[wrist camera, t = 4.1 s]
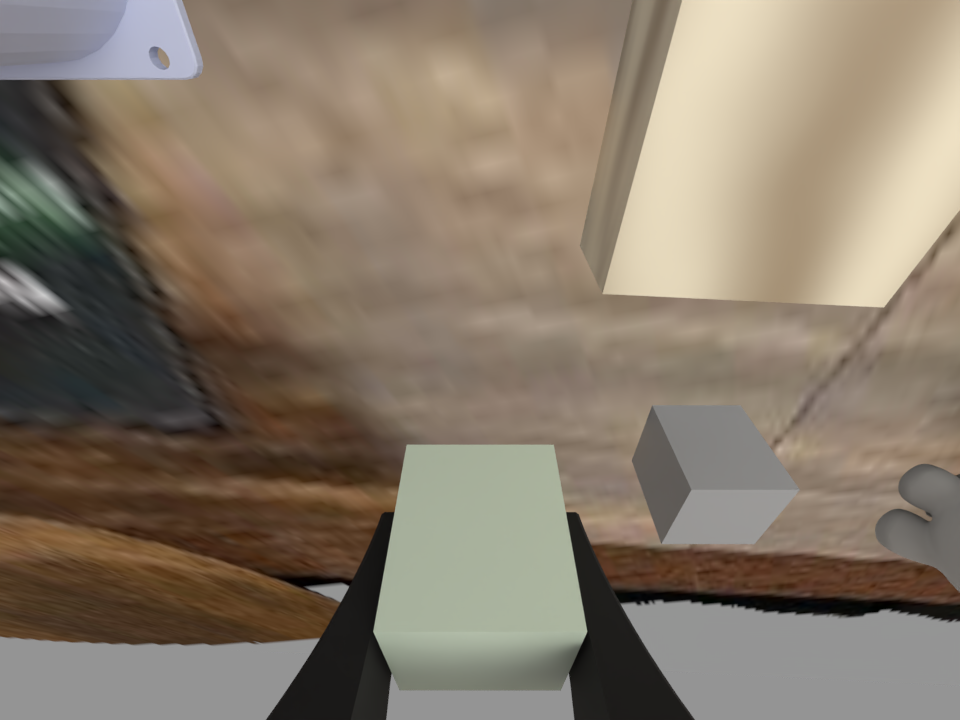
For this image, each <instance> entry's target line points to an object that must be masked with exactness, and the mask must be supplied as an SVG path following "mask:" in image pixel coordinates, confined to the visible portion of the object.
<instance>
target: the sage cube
mask: <svg viewBox="0 0 960 720" xmlns="http://www.w3.org/2000/svg"><path fill="white" fill-rule="evenodd" d="M373 632H374V635H375V637H376V639H377V641H378V643H379V646H380V648H381V650H382V652H383V655H384V657H385V659H386V661H387V663H388V666H389V668H390V670H391V672H392V675H393V677H394V679H395V681H396V684H397V686H398V688H399V690H469V691H472V690H473V691H475V690H476V691H477V690H478V691H481V690H484V691H485V690H487V691H489V690H490V691H492V690H494V691H495V690H496V691H501V690H504V691H506V690H508V691H510V690H512V691H513V690H514V691H520V690H521V691H523V690H525V691H530V690H531V691H551V690H552V691H553V690H554V691H561V689H562V687H563V684H564V682H565V680H566V678H567V676H568V673H569V671H570V669H571V667H572V665H573V662H574V660H575V658H576V656H577V654H578V651H579V649H580V647H581V645H582V643H583V640H584V638H585V636H586V634H587V627H586V622H585V616H584V611H583V605H582V599H581V594H580V588H579V583H578V577H577V571H576V566H575V560H574V555H573V549H572V544H571V538H570V532H569V527H568V521H567V516H566V510H565V505H564V499H563V493H562V488H561V482H560V477H559V471H558V466H557V460H556V454H555V449H554V445H407V446H406V451H405V457H404V463H403V468H402V474H401V479H400V485H399V491H398V496H397V502H396V507H395V513H394V519H393V524H392V530H391V535H390V541H389V547H388V552H387V558H386V563H385V569H384V575H383V580H382V586H381V591H380V597H379V603H378V608H377V614H376V619H375V625H374V631H373Z"/></svg>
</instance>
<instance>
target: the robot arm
mask: <svg viewBox="0 0 960 720" xmlns="http://www.w3.org/2000/svg"><path fill="white" fill-rule="evenodd" d="M159 48H161V49H162V50H163V51H164V52H165V53H166V54H167V56H168V58H169V62H170V65H169V68H167V67H166V66H164V65H163V64H162V63H161V61H160V59H159V58H158V49H159ZM202 70H203V62H202V57H201V54H200V51H199V48H198V45H197V43H196V40H195V37H194V34H193V31H192V28H191V25H190V22H189V19H188V16H187V13H186V10H185V7H184V5H183V2H182V0H0V80H188V79H193V78H197V77H199V75H200V74H201V73H202ZM394 513H395V512H384V513H383V514H381V517H380V520H379V523H378V525H377V528H376V530H375V533H374V535H373V538H372V540H371V542H370V544H369V547H368V549H367V551H366V553H365V555H364V558H363V560H362V562H361V564H360V566H359V568H358V570H357V572H356V574H355V576H354V578H353V580H352V582H351V584H350V586H349V588H348V590H347V592H346V594H345V595H344V597H343V599H342V601H341V603H340V604H339V606H338V608H337V610H336V612H335V613H334V615H333V617H332V619H331V620H330V622H329V624H328V626H327V628H326V629H325V631H324V633H323V634H322V636H321V638H320V639H319V641H318V643H317V644H316V646H315V647H314V649H313V651H312V652H311V654H310V655H309V657H308V659H307V660H306V662H305V663H304V665H303V666H302V668H301V669H300V671H299V673H298V674H297V675H296V677H295V678H294V680H293V681H292V683H291V684H290V686H289V687H288V689H287V690H286V692H285V693H284V695H283V696H282V698H281V699H280V700H279V702H278V703H277V705H276V706H275V708H274V709H273V710H272V712H271V713H270V715H269V716H268V717H267V719H266V720H386V718H387V709H388V699H389V690H390V681H391V675H392V672H391V670H390V668H389V666H388V663H387V661H386V659H385V657H384V655H383V652H382V650H381V648H380V646H379V643H378V641H377V639H376V637H375V635H374V632H373V631H374V625H375V619H376V614H377V608H378V603H379V597H380V591H381V586H382V580H383V575H384V569H385V563H386V558H387V552H388V547H389V541H390V535H391V530H392V524H393V519H394ZM566 516H567V521H568V527H569V532H570V538H571V544H572V549H573V555H574V560H575V566H576V571H577V577H578V583H579V588H580V594H581V599H582V605H583V611H584V616H585V622H586V627H587V634H586V636H585V638H584V640H583V643H582V645H581V647H580V649H579V651H578V654H577V656H576V658H575V660H574V662H573V665H572V667H571V669H570V671H569V678H570V686H571V695H572V704H573V713H574V720H695V719H694V718H693V716H692V715H691V714H690V712H689V711H688V709H687V708H686V707H685V705H684V704H683V702H682V701H681V700H680V698H679V697H678V695H677V694H676V692H675V691H674V689H673V688H672V687H671V685H670V684H669V682H668V681H667V679H666V678H665V676H664V675H663V673H662V672H661V670H660V669H659V667H658V665H657V664H656V662H655V661H654V659H653V658H652V656H651V655H650V653H649V651H648V650H647V648H646V647H645V645H644V643H643V642H642V640H641V638H640V637H639V635H638V633H637V632H636V630H635V628H634V627H633V625H632V623H631V621H630V620H629V618H628V616H627V615H626V613H625V611H624V609H623V607H622V606H621V604H620V602H619V600H618V598H617V596H616V595H615V593H614V591H613V589H612V587H611V585H610V583H609V581H608V579H607V577H606V575H605V573H604V571H603V569H602V567H601V565H600V563H599V561H598V559H597V557H596V555H595V552H594V550H593V548H592V546H591V543H590V541H589V539H588V537H587V534H586V532H585V529H584V527H583V524H582V522H581V519H580V516H579V514H578V513H576V512H566Z"/></svg>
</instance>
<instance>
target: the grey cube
mask: <svg viewBox="0 0 960 720" xmlns="http://www.w3.org/2000/svg"><path fill="white" fill-rule="evenodd" d="M632 463H633V466H634V469H635V471H636V474H637V477H638V480H639V483H640V485H641V488H642V491H643V494H644V497H645V500H646V502H647V505H648V508H649V511H650V514H651V516H652V519H653V522H654V525H655V528H656V530H657V533H658V536H659V539H660V542H661V544H755V543H756V542H757V540H758V539H759V538H760V537H761V536H762V534H763V533H764V532H765V531H766V530H767V529H768V527H769V526H770V525H771V524H772V523H773V521H774V520H775V519H776V518H777V517H778V515H779V514H780V513H781V512H782V511H783V509H784V508H785V507H786V506H787V505H788V503H789V502H790V501H791V500H792V499H793V498H794V496H795V495H796V494H797V493H798V492H799V490H800V489H799V488H798V486H797V485H796V484H795V482H794V481H793V479H792V478H791V476H790V475H789V474H788V472H787V471H786V469H785V468H784V466H783V465H782V464H781V462H780V461H779V459H778V458H777V457H776V455H775V454H774V452H773V451H772V449H771V448H770V447H769V445H768V444H767V442H766V441H765V439H764V438H763V437H762V435H761V434H760V432H759V431H758V429H757V428H756V427H755V425H754V424H753V422H752V421H751V420H750V418H749V417H748V415H747V414H746V412H745V411H744V410H743V408H742V407H741V405H652V407H651V410H650V413H649V415H648V418H647V421H646V423H645V426H644V429H643V431H642V434H641V437H640V440H639V442H638V445H637V448H636V450H635V453H634V456H633V458H632Z"/></svg>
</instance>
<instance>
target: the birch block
mask: <svg viewBox="0 0 960 720" xmlns="http://www.w3.org/2000/svg"><path fill="white" fill-rule="evenodd" d="M959 210H960V0H633V1H632V6H631V10H630V15H629V20H628V24H627V29H626V34H625V38H624V43H623V47H622V52H621V57H620V61H619V66H618V71H617V75H616V80H615V85H614V89H613V94H612V99H611V103H610V108H609V113H608V117H607V122H606V127H605V131H604V136H603V140H602V145H601V150H600V154H599V159H598V164H597V168H596V173H595V178H594V182H593V187H592V192H591V196H590V201H589V206H588V210H587V215H586V220H585V224H584V229H583V233H582V238H581V243H580V247H581V249H582V252H583V254H584V256H585V258H586V260H587V262H588V264H589V266H590V269H591V271H592V273H593V275H594V277H595V279H596V281H597V283H598V286H599V288H600V290H601V292H602V294H614V295H635V296H655V297H676V298H697V299H717V300H738V301H759V302H780V303H800V304H821V305H842V306H862V307H883V308H884V307H885V306H886V304H887V303H888V302H889V300H890V299H891V298H892V297H893V295H894V294H895V293H896V291H897V290H898V289H899V288H900V286H901V285H902V284H903V282H904V281H905V280H906V278H907V277H908V276H909V275H910V273H911V272H912V271H913V269H914V268H915V267H916V266H917V264H918V263H919V262H920V260H921V259H922V258H923V257H924V255H925V254H926V253H927V251H928V250H929V249H930V248H931V246H932V245H933V244H934V242H935V241H936V240H937V239H938V237H939V236H940V235H941V233H942V232H943V231H944V230H945V228H946V227H947V226H948V224H949V223H950V222H951V221H952V219H953V218H954V217H955V215H956V214H957V213H958V212H959Z"/></svg>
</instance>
